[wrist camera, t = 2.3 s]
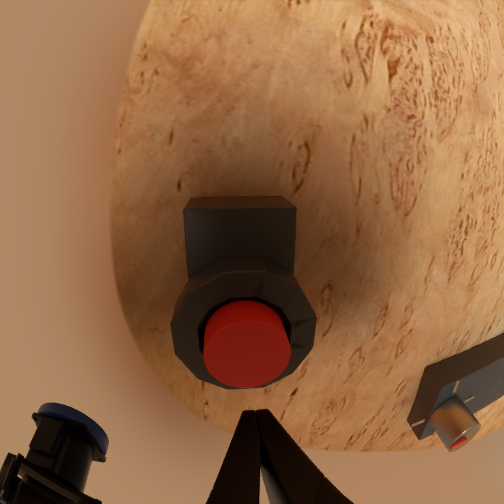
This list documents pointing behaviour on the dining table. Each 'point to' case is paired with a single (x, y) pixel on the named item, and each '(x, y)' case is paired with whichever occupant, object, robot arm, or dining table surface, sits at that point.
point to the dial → (454, 423)
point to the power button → (245, 344)
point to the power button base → (240, 273)
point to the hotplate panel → (460, 383)
